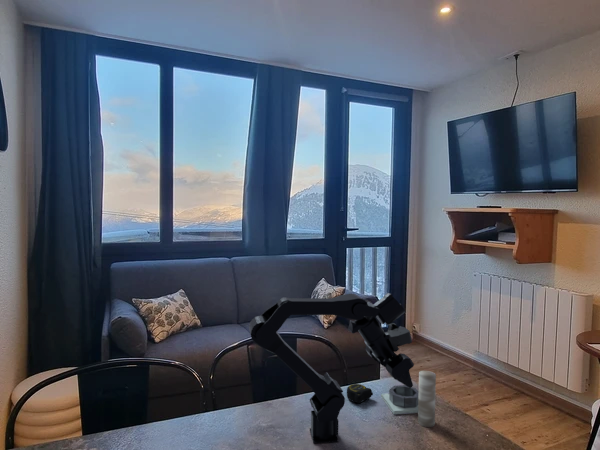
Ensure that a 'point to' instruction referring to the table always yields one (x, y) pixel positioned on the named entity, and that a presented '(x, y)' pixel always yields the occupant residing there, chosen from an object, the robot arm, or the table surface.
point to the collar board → (395, 408)
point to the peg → (426, 398)
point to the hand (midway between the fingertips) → (403, 379)
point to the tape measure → (358, 393)
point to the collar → (398, 396)
